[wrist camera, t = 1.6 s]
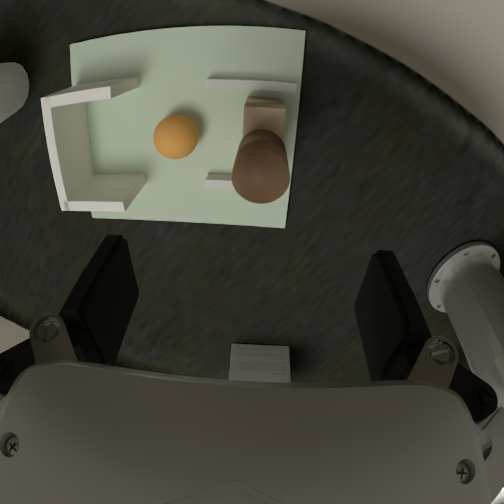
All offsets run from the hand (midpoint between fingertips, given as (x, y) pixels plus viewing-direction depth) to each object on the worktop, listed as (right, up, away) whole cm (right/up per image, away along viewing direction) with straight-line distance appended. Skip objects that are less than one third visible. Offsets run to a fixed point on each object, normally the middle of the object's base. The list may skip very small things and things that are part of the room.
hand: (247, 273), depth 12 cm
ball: (-6, +11, +14) cm, 19 cm away
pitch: (-7, +13, +16) cm, 22 cm away
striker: (+1, +11, +15) cm, 19 cm away
